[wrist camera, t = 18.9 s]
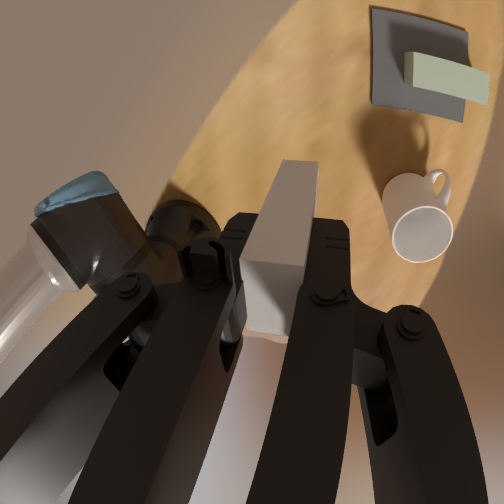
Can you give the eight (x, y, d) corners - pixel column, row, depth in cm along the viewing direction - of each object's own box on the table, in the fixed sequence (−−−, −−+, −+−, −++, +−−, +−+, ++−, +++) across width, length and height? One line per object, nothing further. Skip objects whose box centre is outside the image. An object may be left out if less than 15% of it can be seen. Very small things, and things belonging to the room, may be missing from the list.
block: (412, 86, 26) (488, 106, 23) (413, 51, 23) (491, 74, 20) (403, 83, 29) (474, 100, 27) (404, 52, 26) (476, 71, 24)
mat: (371, 103, 33) (371, 104, 32) (371, 8, 24) (371, 8, 24) (461, 121, 30) (462, 122, 29) (466, 32, 21) (468, 32, 21)
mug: (454, 175, 35) (481, 210, 27) (410, 229, 43) (423, 272, 35) (414, 142, 34) (438, 170, 26) (370, 202, 42) (378, 243, 34)
